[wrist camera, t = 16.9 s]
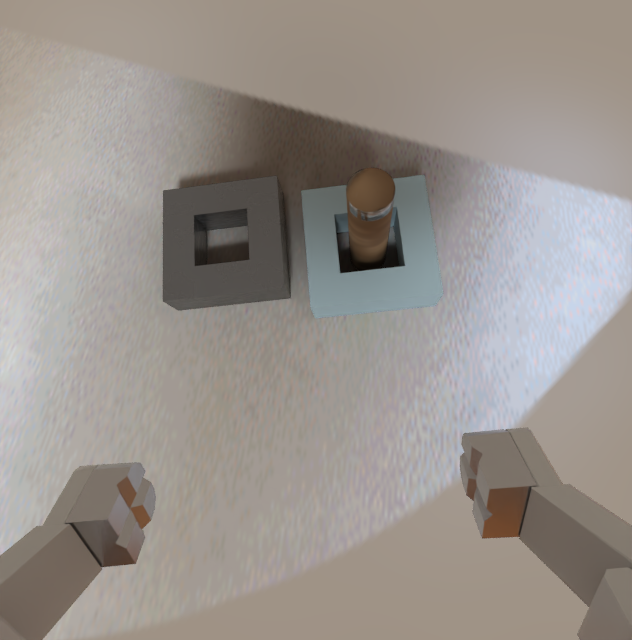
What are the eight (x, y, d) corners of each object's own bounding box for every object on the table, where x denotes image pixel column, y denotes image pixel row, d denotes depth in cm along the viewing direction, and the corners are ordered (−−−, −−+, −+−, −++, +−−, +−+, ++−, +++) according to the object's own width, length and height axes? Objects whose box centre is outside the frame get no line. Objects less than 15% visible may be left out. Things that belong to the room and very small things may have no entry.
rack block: (315, 318, 36) (310, 307, 32) (306, 210, 38) (301, 190, 35) (435, 305, 35) (443, 293, 32) (418, 196, 37) (424, 174, 34)
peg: (352, 274, 36) (348, 214, 26) (348, 242, 37) (343, 171, 26) (387, 270, 36) (398, 208, 25) (383, 238, 37) (392, 164, 26)
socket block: (178, 310, 37) (162, 301, 34) (177, 207, 40) (163, 190, 37) (290, 298, 36) (284, 287, 34) (283, 193, 39) (276, 175, 36)
